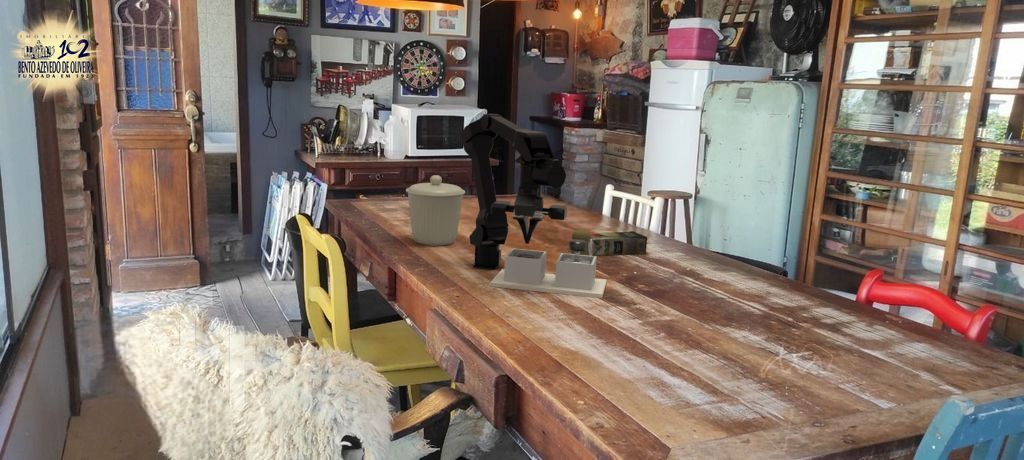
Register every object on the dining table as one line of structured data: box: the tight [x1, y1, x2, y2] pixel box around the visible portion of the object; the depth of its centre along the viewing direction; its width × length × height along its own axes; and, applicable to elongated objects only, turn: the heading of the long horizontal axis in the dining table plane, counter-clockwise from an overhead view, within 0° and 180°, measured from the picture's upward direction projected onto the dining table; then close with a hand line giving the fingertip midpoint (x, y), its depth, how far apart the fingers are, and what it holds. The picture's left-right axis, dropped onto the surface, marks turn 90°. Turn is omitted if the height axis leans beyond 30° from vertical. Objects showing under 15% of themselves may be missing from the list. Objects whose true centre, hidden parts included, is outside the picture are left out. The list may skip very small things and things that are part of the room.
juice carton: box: [588, 230, 648, 257], centre depth 226 cm, size 20×10×6 cm, turn 110°
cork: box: [570, 229, 591, 256], centre depth 203 cm, size 6×6×11 cm
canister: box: [405, 174, 466, 247], centre depth 225 cm, size 18×18×21 cm
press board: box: [490, 248, 608, 299], centre depth 186 cm, size 28×14×8 cm, turn 79°
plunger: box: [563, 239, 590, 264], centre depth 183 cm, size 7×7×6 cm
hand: (527, 243), depth 185 cm, fingers closed
